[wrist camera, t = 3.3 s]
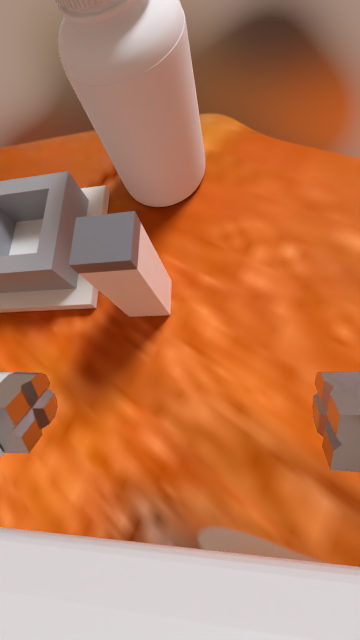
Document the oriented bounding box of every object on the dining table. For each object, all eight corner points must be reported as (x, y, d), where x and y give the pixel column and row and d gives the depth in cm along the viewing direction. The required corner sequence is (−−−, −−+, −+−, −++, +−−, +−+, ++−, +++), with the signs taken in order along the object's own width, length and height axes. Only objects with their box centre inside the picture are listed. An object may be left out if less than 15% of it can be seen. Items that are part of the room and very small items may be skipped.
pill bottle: (109, 182, 28) (-15, -39, 14) (168, 130, 29) (102, -131, 15) (161, 226, 26) (68, 5, 12) (224, 167, 26) (208, -110, 12)
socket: (109, 192, 28) (87, 154, 24) (96, 308, 25) (66, 286, 20) (4, 206, 30) (-34, 173, 26) (-23, 313, 27) (-71, 295, 23)
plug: (171, 281, 24) (134, 210, 16) (170, 315, 23) (130, 260, 15) (131, 283, 25) (75, 217, 16) (129, 316, 24) (68, 265, 15)
